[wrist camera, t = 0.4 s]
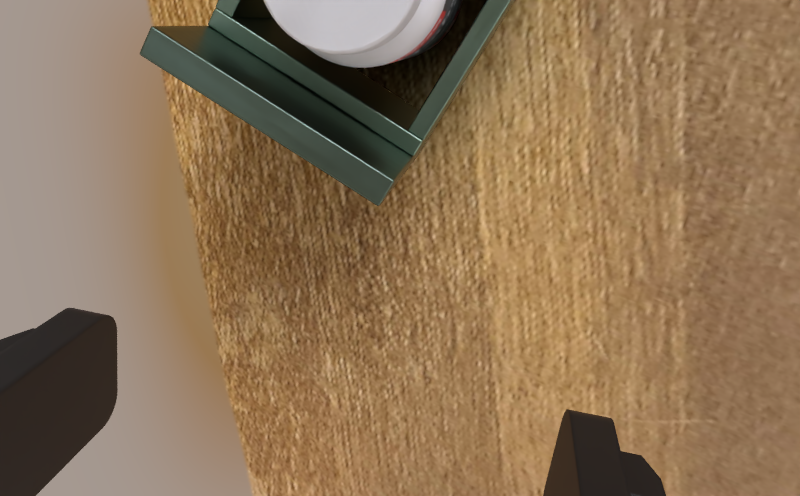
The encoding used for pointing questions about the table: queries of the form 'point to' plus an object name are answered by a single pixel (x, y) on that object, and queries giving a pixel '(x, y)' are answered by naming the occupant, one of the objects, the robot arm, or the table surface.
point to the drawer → (313, 91)
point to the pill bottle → (365, 27)
